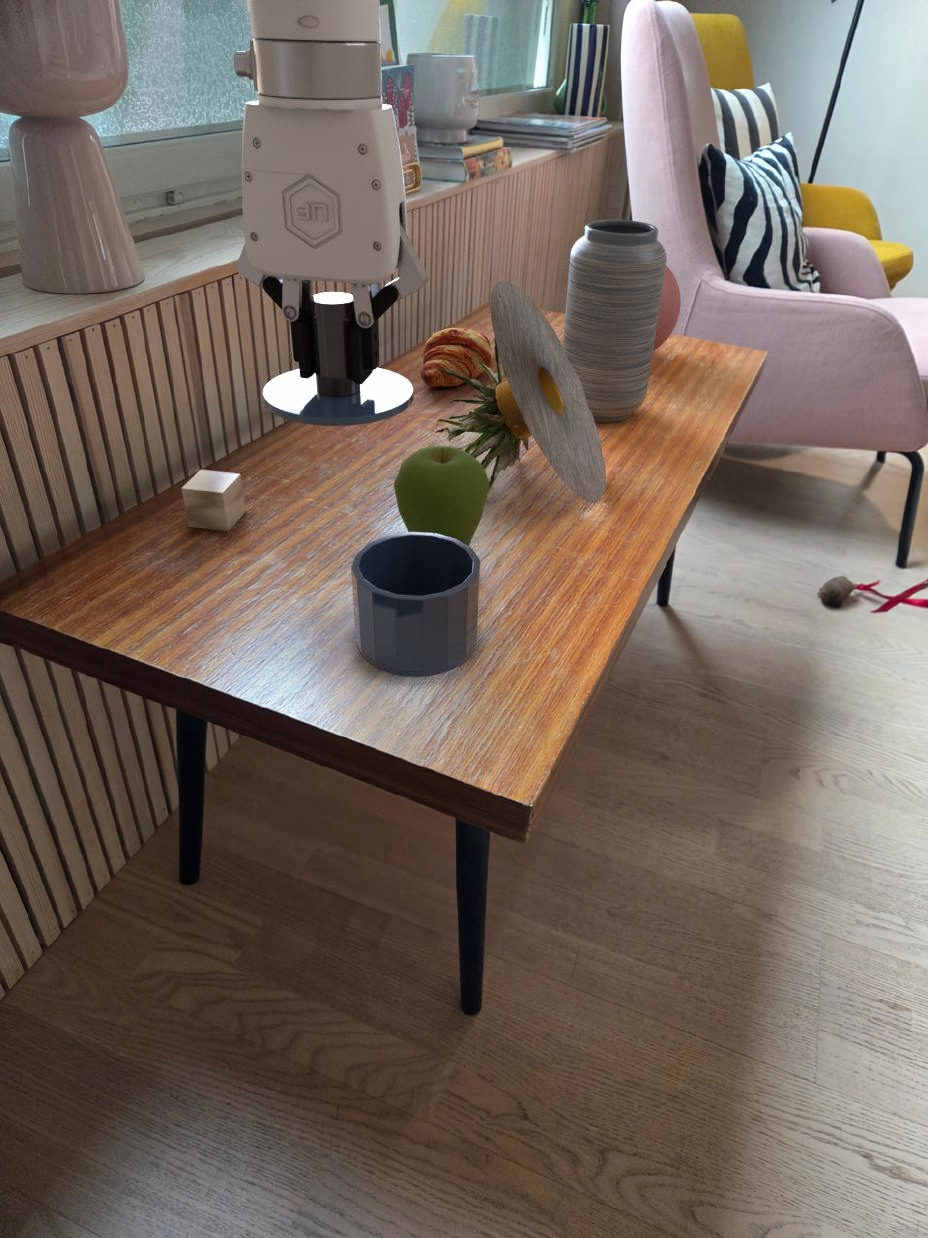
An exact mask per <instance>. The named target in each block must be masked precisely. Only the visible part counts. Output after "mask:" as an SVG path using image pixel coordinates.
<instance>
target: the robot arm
mask: <svg viewBox="0 0 928 1238" xmlns="http://www.w3.org/2000/svg"><path fill="white" fill-rule="evenodd" d="M380 2H381V1H380V0H248V5H249V15H250V24H251V25H250V26H251V37H252V38H253V39H249V48H247V49H246V50H245V51H243V50H237V51H235V52H234V54H233V68H234V71H235V74H236V76H237V77H239V78H248V80H250V81H253V91H254V92H257V98H258V100H251V101H246V102H244V111H243V123H242V138H241V139H242V141H241V142H242V143H241V193H242V194H241V198H242V199H241V201H242V202H241V203H242V220H243V221H242V222H243V233H244V237H243V238H244V244H243V247H242V249H241V252H240V255H239V257H238V260H237V262H236V266H235V267H236V271H237V272H238V274H239V275H240V276H242V277H244V278H246V279H247V280H248V281H250V282H251V283H252V284H254V285H255V286H257V287H258V288H261V289H263V291H264V293H265V294H266V295H267V296H268V297H269V298H270V299H271V300H272V301H273V302H274V303H275V304H276V305H277V307H278V308H279V309H280V310H281V314H282V316H283V318H284V319H285V320H286V321H288V322H289V325H290V334H291V335H290V336H291V346H292V357H293V361H294V362H295V363H298V369H299V373H300V377H301V378H305V379H309V378H310V377H312V376H313V375H314V374H315V361H314V348H313V335H312V322H311V309H310V298H311V296H313V295H314V294H313V293H314V281H317V282H329V283H340V284H341V283H342V284H350V289H351V295H352V296H353V303H354V309H355V315H356V316H355V317H354V319H355V324H354V325H353V326H352V327H351V328H350V330H349V338H350V357H351V377H352V381H353V382H354V383H355V384H363V383H364V382H365V381H366V379H367V378H368V377H369V376H370V375H371V374H372V373H373V370H375V369H376V368H379V364H380V337H379V319H380V318H381V317H382V316H383V315H384V314H385V313H386V312H387V311H388V310H389V309H390V308H391V307H392V306H393V305H394V304H395V303H397V302H399V301H400V300H401V301H402V300H403V299H405V298H407V297H409V296H410V295H413V294H414V293H416V292H419V291H420V290H422V289H423V288H424V287H425V286H426V285H427V284H428V282H429V276H428V274H427V271H426V269H425V267H424V265H423V263H422V261H421V259H420V257H419V256H418V253H417V251H416V249H415V248H414V245H413V243H412V241H411V240H410V237H409V229H408V212H407V211H408V210H407V197H406V188H405V187H406V186H405V177H404V170H403V169H404V168H403V161H402V153H401V146H400V140H399V134H398V128H397V123H396V117H395V114H394V110H393V109H394V108H393V106H392V105H391V104H385V103H383V96H382V95H383V75H382V73H383V71H382V43H381V11H380V10H381V5H380V4H381V3H380ZM397 269H398V271H399V272H398V273H399V276H398V277H397V278H395V279H393V280H392V281H389V282H387V284H386V285H384V286H383V287H382V282H384V281H386V280H387V279H389V278H390V277H391V276H392V274H394V273H395V272H396V270H397Z"/></svg>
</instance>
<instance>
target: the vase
mask: <svg viewBox="0 0 928 1238" xmlns="http://www.w3.org/2000/svg"><path fill="white" fill-rule="evenodd" d="M658 237H659V228H657V226H656V225H653V224H650V223H647V222H643V221H638V220H637V221H636V220H630V219H629V220H628V219H601V220H600V219H599V220H593V221H590V222H588V223H587V224H585V226H584V234H583V235H582V236H581V237H580V238H578V240H576V241H575V243H574V244H573V246H572V248H571V250H570V255H569V265H568V276H567V277H568V278H567V289H566V298H565V299H566V300H565V312H564V322H563V323H564V324H563V334H562V335H563V336H562V344H561V345H562V347H563V349H564V351H565V353H566V356H567V358H568V360H569V362H570V364H571V365H572V367H573V369H574V370H575V372H576V374H577V376H578V378H579V380H580V382H581V385H582V387H583V390H584V395H585V398H586V402H587V405H588V407H589V409H590V411H591V413H592V415H593V418H594V421H595V423H616V422H617V423H618V422H621V421H624V420H627V419H629V418H630V417H631V416H632V415H633V412H635V411H637V410H638V409H639V408H640V407H641V406H642V405H643V403H644V401H645V400H646V397H647V395H648V387H649V380H650V375H651V368H652V362H653V361H652V360H653V356H654V355H653V354H654V351H653V348H654V341H655V335H656V328H657V321H658V315H659V308H660V301H661V295H662V288H663V281H664V275H665V268H666V265H667V253H666V250H665V247H664V245H663V244H662V243H661V241H660V240H658Z"/></svg>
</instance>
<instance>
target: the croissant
mask: <svg viewBox="0 0 928 1238" xmlns="http://www.w3.org/2000/svg"><path fill="white" fill-rule="evenodd" d="M473 357H476V358H477V359H478V360H479V361H481V362H482V363H483V364H484V365H486V366H487V367H489V368H490V369H491V366H493V353H492V349H491V339H490V338H489V336H488V335H487V334H484V333H483V332H480V331H478V330H473V329H470V328H468V327H448V328H445V329H441V330H439V331H436V332H434V333H433V334H431V336H430V338H428V340H427V341H426V342H425V345H424V348H423V352H422V365H421V366H422V367H421V369H420V378H421V379H422V381H423V382H424V383H425V384H426V385H427V386H430V387H432V388H434V387H445V388H446V387H447V388H448V387H459V386H460V385H461V384H464V383H465V384H466V382H464V381H462V380H460V379H459V378H457V377H455V376H452V375H448V374H446V373H445V372H442V371H441V370H440V368H441V369H447V370H451V371H453V372H456V373H458V374H460V375H463V376H465V377H468V378H469V379H474V380H476V379H477V378H478V377H479V376H481V375H483V374H484V373H485V372H486V370H485V369H484V368H482V367H480V364H478V363H477V361H476V360H475V359H474V358H473Z"/></svg>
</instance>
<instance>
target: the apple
mask: <svg viewBox="0 0 928 1238" xmlns="http://www.w3.org/2000/svg"><path fill="white" fill-rule="evenodd" d="M459 448H460V447H456V446H453V445H451V446H450V445H433V446H432V445H431V446H427V447H422V448H419V449H417V450H416V451H415V452H413V453H411V454H410V455H409V456H408V457H407V458H405V459H404V460H403V461H402V464H401V466H400V468H399V470H398V473H397V475H396V478H395V481H394V483H393V489H394V493H395V498H396V504H397V507H398V508H397V509H398V512H399V515H400V517H401V519H402V522H403V523H404V525H405V528H406V530H407V532H424V533H437V534H440V535H444V536H448V537H452V538H455V539H457V540H459V541H461V542H462V543H464V544H466V545H467V546H469V547H470V545H471V543H472V540H473V538H474V535H475V533H476V531H477V528H478V526H479V524H480V523H481V520H482V517H483V513H484V509H485V505H486V502H487V497H488V495H489V494H488V490H489V486H490V480H489V477H488V474H487V470H486V469H485V468H484V467H483V466H482V464H481V462H480V461H479V460H477V458H476V459H475V458H474V457H472V456H471V455H470V454H471V453H469V454H468V453H467V452H465V451H464V450H465V449H459Z"/></svg>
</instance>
